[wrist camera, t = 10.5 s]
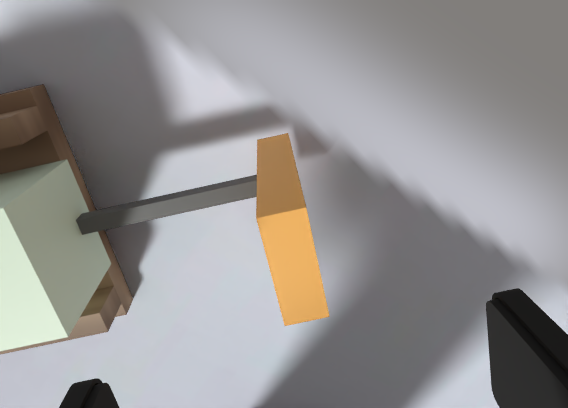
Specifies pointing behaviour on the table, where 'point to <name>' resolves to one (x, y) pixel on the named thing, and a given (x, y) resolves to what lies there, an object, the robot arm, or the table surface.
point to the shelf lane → (54, 147)
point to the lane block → (85, 225)
